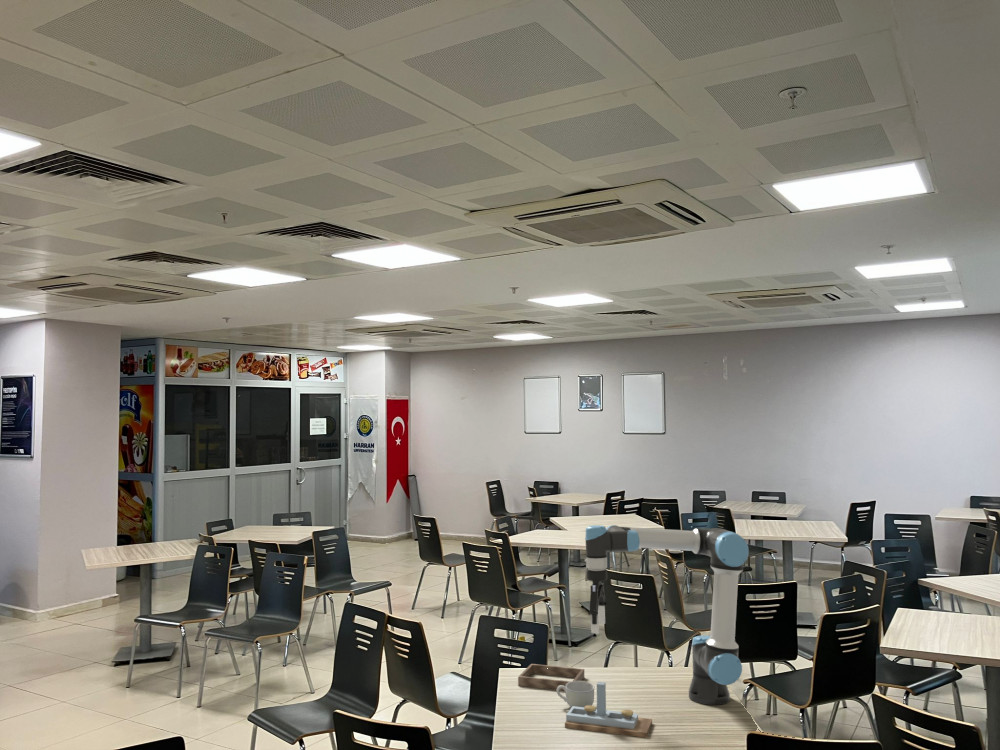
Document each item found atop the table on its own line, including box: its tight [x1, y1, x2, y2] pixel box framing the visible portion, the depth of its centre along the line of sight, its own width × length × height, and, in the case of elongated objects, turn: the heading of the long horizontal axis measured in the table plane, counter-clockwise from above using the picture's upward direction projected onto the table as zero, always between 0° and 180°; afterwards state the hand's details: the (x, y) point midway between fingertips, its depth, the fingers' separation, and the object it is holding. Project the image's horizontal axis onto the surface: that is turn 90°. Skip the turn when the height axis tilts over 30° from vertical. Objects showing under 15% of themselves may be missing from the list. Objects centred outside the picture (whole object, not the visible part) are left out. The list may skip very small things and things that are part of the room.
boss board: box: [564, 704, 653, 738], centre depth 268 cm, size 28×13×5 cm, turn 71°
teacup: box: [556, 680, 595, 708], centre depth 286 cm, size 14×11×8 cm
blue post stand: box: [565, 681, 639, 729], centre depth 269 cm, size 24×9×12 cm, turn 71°
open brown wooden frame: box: [517, 663, 585, 692], centre depth 314 cm, size 23×18×4 cm
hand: (598, 628), depth 280 cm, fingers open, 13 cm apart
